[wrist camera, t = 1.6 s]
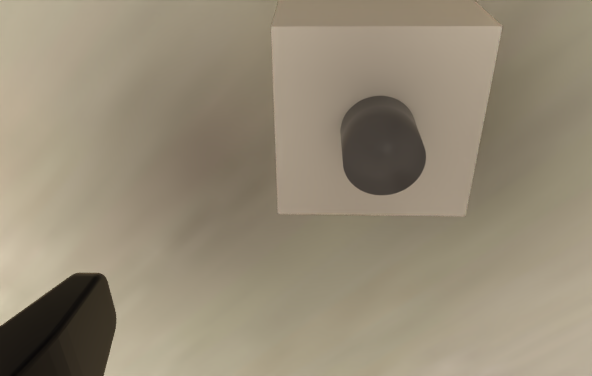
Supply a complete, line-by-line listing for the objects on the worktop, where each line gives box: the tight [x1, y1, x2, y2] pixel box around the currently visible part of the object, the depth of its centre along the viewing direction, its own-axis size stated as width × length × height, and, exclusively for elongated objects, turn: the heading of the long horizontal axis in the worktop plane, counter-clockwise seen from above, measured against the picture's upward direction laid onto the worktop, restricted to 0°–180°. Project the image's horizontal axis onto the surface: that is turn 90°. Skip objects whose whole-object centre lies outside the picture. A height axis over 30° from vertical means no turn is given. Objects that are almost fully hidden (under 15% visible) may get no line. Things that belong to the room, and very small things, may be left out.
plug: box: [271, 0, 503, 216], centre depth 15 cm, size 5×5×8 cm
